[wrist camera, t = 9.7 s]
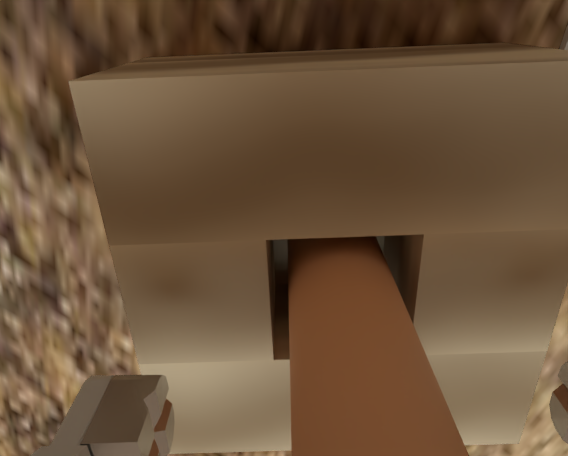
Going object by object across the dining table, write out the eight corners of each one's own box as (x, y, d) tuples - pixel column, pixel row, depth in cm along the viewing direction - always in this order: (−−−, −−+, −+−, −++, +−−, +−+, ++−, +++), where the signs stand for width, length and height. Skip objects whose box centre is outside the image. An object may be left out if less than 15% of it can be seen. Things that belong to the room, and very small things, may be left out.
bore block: (147, 57, 15) (68, 80, 9) (502, 42, 14) (635, 57, 9) (193, 335, 20) (160, 454, 14) (454, 326, 20) (519, 443, 14)
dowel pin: (286, 198, 15) (293, 694, 4) (373, 195, 15) (623, 687, 4) (288, 272, 16) (299, 798, 5) (369, 270, 16) (548, 793, 5)
